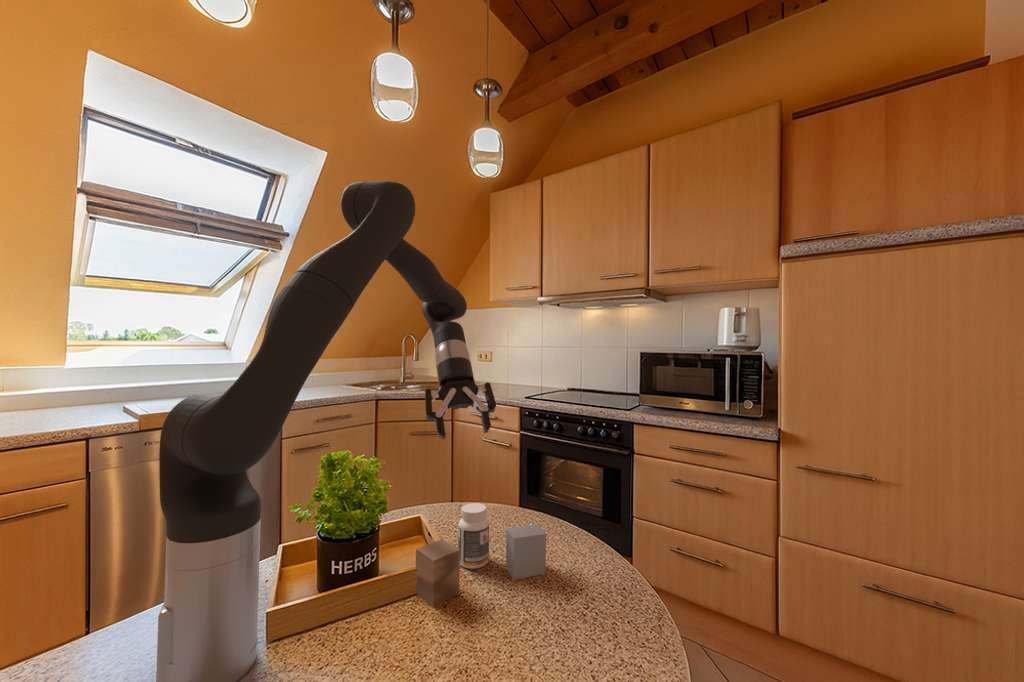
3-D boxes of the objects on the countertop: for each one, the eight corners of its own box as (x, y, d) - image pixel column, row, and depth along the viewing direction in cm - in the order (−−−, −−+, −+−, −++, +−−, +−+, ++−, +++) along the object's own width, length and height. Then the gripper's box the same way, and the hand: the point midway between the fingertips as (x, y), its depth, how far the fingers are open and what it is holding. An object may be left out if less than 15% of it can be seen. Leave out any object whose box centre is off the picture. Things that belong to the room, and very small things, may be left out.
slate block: (513, 579, 69) (514, 538, 69) (505, 567, 73) (506, 528, 73) (545, 573, 71) (546, 533, 71) (536, 562, 75) (537, 524, 75)
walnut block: (432, 607, 61) (433, 560, 61) (415, 592, 65) (416, 548, 65) (459, 593, 65) (459, 549, 65) (441, 580, 68) (441, 538, 68)
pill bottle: (494, 559, 75) (495, 506, 75) (476, 573, 70) (477, 516, 71) (470, 551, 78) (471, 499, 78) (451, 564, 73) (452, 509, 74)
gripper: (420, 358, 83) (429, 432, 75) (487, 352, 87) (503, 421, 78) (420, 377, 89) (428, 447, 81) (483, 370, 93) (497, 436, 84)
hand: (465, 434), depth 80 cm, fingers open, 8 cm apart
